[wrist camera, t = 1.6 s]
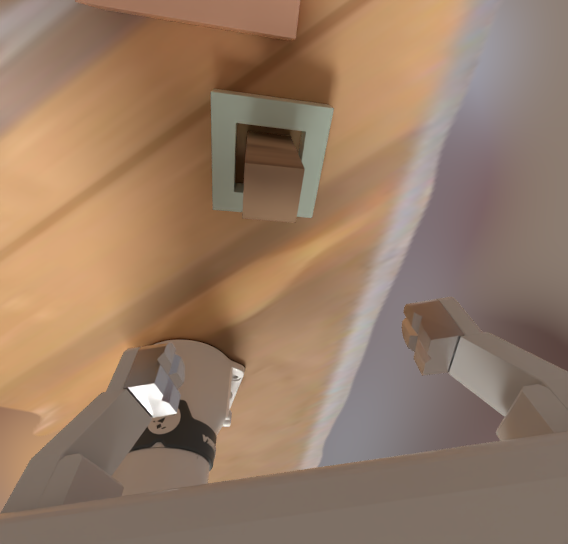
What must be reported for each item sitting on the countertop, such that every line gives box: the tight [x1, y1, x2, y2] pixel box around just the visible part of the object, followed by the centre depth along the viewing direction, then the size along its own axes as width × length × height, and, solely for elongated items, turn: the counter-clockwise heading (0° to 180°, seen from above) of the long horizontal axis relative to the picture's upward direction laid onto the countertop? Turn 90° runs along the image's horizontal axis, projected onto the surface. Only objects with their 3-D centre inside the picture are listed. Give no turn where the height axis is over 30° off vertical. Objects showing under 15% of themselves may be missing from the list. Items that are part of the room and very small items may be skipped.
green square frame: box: [211, 89, 334, 218], centre depth 28 cm, size 10×10×2 cm
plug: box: [242, 131, 305, 223], centre depth 25 cm, size 4×4×10 cm
